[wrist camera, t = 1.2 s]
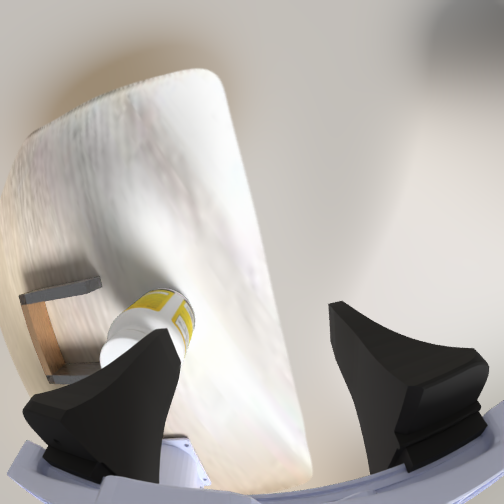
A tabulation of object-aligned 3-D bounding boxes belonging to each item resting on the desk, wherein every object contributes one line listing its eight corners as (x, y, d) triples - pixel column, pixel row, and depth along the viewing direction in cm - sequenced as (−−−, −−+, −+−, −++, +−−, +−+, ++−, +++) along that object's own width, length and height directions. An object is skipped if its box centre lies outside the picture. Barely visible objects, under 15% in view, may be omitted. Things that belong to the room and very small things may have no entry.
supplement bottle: (127, 320, 22) (76, 366, 12) (158, 274, 22) (113, 302, 12) (174, 356, 23) (148, 420, 13) (208, 313, 23) (196, 365, 13)
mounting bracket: (128, 369, 22) (118, 384, 20) (62, 371, 22) (49, 383, 19) (99, 276, 22) (84, 281, 19) (35, 289, 21) (18, 295, 18)
